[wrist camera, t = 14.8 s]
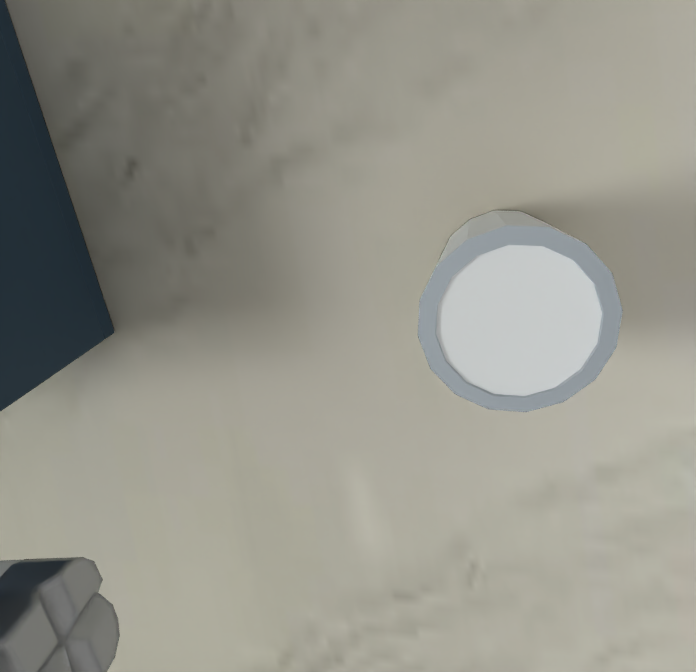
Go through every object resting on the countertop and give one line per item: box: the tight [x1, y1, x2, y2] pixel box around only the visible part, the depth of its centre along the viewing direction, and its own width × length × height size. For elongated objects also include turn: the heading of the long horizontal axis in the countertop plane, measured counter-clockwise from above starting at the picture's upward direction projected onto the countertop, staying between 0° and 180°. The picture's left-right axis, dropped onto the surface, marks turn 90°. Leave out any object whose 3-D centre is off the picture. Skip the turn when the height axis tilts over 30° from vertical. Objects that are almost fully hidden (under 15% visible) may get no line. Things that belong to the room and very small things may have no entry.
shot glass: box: [418, 210, 623, 412], centre depth 24 cm, size 7×7×7 cm
